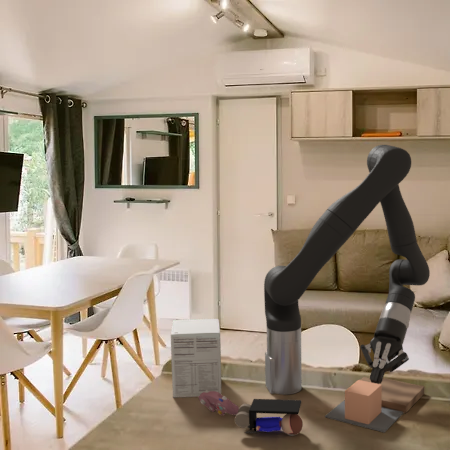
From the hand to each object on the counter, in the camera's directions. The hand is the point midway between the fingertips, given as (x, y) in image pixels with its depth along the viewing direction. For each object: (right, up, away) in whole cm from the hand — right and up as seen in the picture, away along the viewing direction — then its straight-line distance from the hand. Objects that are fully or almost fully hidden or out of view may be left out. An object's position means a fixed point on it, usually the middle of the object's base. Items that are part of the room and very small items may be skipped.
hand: (374, 383), depth 161 cm
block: (-2, -2, -2) cm, 4 cm away
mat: (-4, -7, -4) cm, 9 cm away
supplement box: (-45, -5, +15) cm, 48 cm away
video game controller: (-39, -7, -1) cm, 40 cm away
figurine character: (-27, -9, -12) cm, 31 cm away
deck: (+4, -5, +6) cm, 9 cm away
